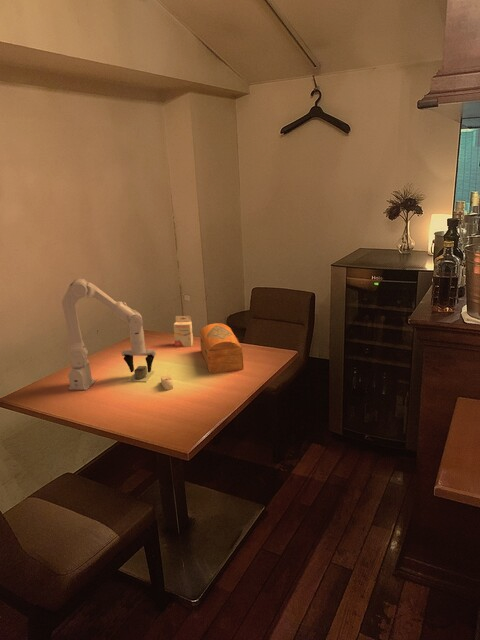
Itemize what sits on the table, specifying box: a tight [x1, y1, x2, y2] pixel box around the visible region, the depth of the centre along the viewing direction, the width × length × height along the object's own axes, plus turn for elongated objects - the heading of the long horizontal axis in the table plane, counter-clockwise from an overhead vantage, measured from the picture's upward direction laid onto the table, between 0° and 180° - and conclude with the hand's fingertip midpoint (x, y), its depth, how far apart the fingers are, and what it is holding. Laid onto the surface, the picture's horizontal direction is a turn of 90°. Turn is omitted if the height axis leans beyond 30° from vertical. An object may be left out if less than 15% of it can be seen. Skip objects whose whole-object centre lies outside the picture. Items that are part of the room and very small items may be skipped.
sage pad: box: [127, 370, 155, 383], centre depth 200 cm, size 11×8×1 cm
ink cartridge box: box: [173, 315, 194, 347], centre depth 236 cm, size 9×5×15 cm, turn 84°
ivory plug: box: [160, 374, 174, 391], centre depth 189 cm, size 9×4×4 cm, turn 22°
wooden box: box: [199, 322, 244, 375], centre depth 213 cm, size 30×16×14 cm, turn 10°
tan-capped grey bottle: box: [133, 365, 148, 380], centre depth 200 cm, size 9×4×4 cm, turn 172°
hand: (140, 371), depth 200 cm, fingers open, 7 cm apart
